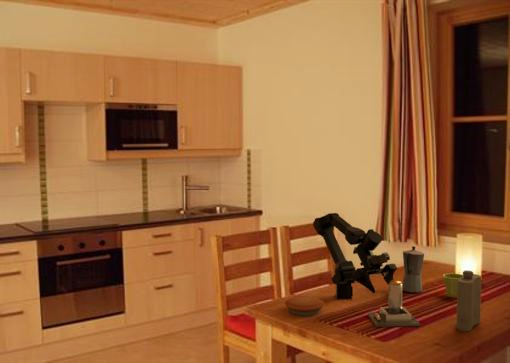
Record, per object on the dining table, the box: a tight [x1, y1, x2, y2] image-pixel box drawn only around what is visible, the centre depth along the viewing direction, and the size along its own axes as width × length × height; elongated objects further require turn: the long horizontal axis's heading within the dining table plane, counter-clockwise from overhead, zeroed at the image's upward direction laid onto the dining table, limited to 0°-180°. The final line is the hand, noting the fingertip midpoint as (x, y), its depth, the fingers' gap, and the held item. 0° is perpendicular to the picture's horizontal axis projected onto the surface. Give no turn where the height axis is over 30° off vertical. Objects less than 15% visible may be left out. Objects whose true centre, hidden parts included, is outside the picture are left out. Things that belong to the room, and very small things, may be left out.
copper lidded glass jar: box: [387, 279, 403, 314], centre depth 204 cm, size 5×5×14 cm
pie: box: [284, 295, 325, 317], centre depth 216 cm, size 15×16×5 cm
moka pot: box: [402, 246, 425, 293], centre depth 242 cm, size 10×15×20 cm, turn 152°
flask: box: [456, 270, 482, 333], centre depth 198 cm, size 15×6×20 cm, turn 141°
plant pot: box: [442, 273, 463, 298], centre depth 235 cm, size 9×9×9 cm
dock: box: [368, 306, 421, 328], centre depth 204 cm, size 16×12×4 cm
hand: (384, 291), depth 210 cm, fingers open, 9 cm apart
